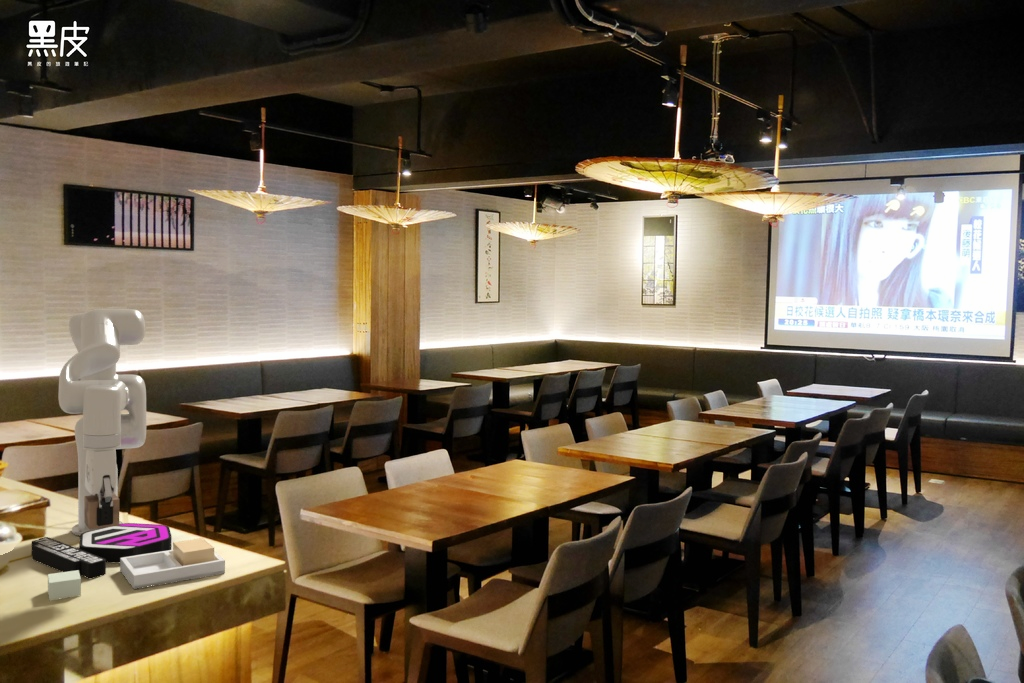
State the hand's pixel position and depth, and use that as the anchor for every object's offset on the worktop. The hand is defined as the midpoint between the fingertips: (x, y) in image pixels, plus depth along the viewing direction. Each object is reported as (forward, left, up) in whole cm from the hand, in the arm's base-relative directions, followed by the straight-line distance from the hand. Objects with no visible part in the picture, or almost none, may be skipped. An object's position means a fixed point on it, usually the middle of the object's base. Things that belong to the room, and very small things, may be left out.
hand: (101, 520), depth 185 cm
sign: (-24, +7, -16) cm, 29 cm away
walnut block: (0, 0, -1) cm, 1 cm away
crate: (-1, +15, -15) cm, 22 cm away
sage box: (0, -8, -15) cm, 17 cm away
